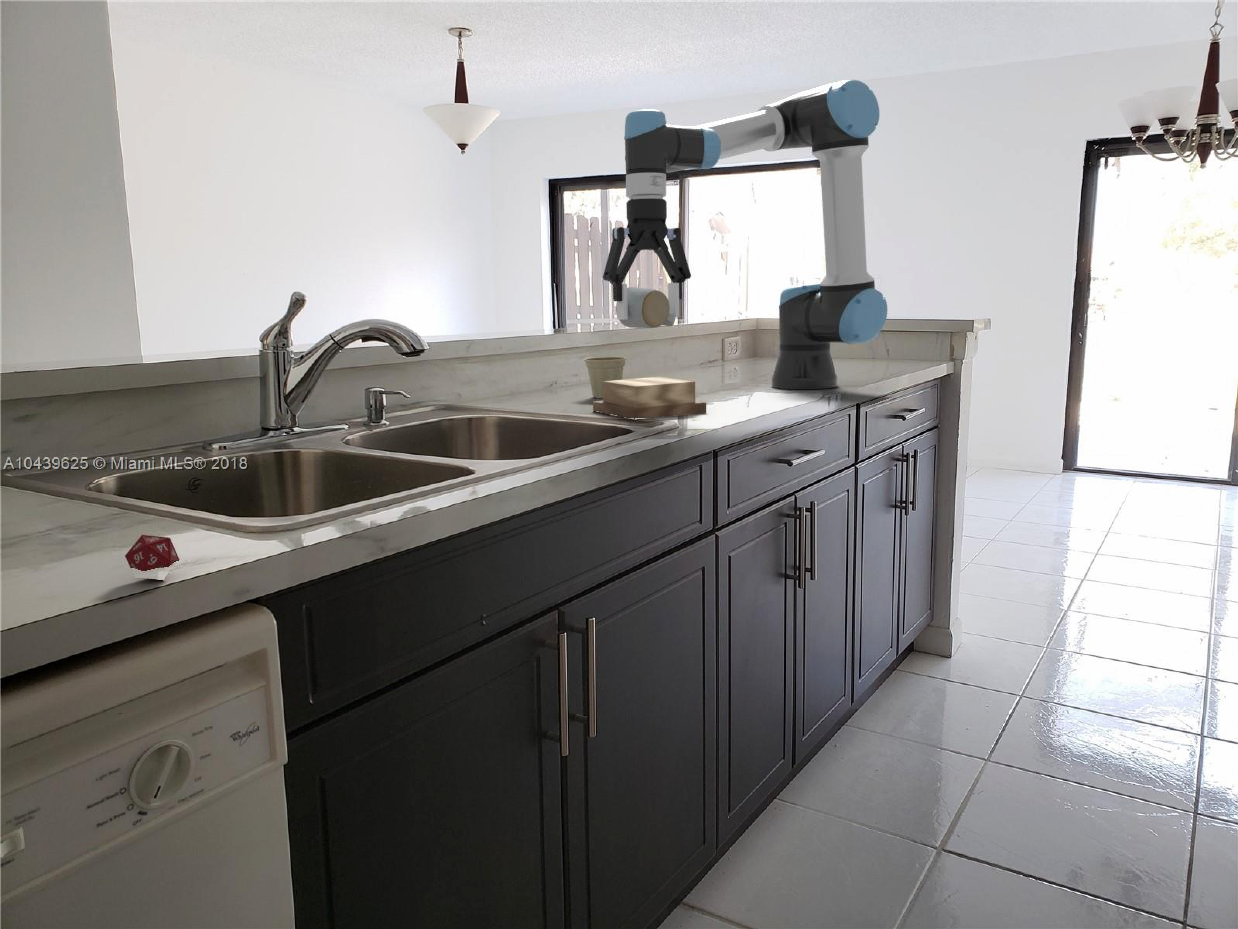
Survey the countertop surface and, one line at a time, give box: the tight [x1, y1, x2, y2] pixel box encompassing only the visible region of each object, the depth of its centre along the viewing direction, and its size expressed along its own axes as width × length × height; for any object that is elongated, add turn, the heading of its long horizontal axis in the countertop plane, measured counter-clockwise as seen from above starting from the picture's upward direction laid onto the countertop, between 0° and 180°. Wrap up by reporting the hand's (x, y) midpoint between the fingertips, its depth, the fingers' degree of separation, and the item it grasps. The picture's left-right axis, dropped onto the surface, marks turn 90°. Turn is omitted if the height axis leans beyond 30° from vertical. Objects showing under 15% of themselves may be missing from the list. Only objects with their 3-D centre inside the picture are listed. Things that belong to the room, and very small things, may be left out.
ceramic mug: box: [615, 286, 676, 329], centre depth 178 cm, size 11×8×8 cm
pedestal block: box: [602, 376, 696, 408], centre depth 182 cm, size 13×13×4 cm
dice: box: [124, 534, 180, 571], centre depth 82 cm, size 4×4×4 cm
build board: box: [592, 400, 707, 419], centre depth 182 cm, size 16×16×2 cm
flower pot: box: [583, 356, 627, 399], centre depth 208 cm, size 9×9×9 cm
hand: (648, 318), depth 179 cm, fingers closed on ceramic mug, 11 cm apart
